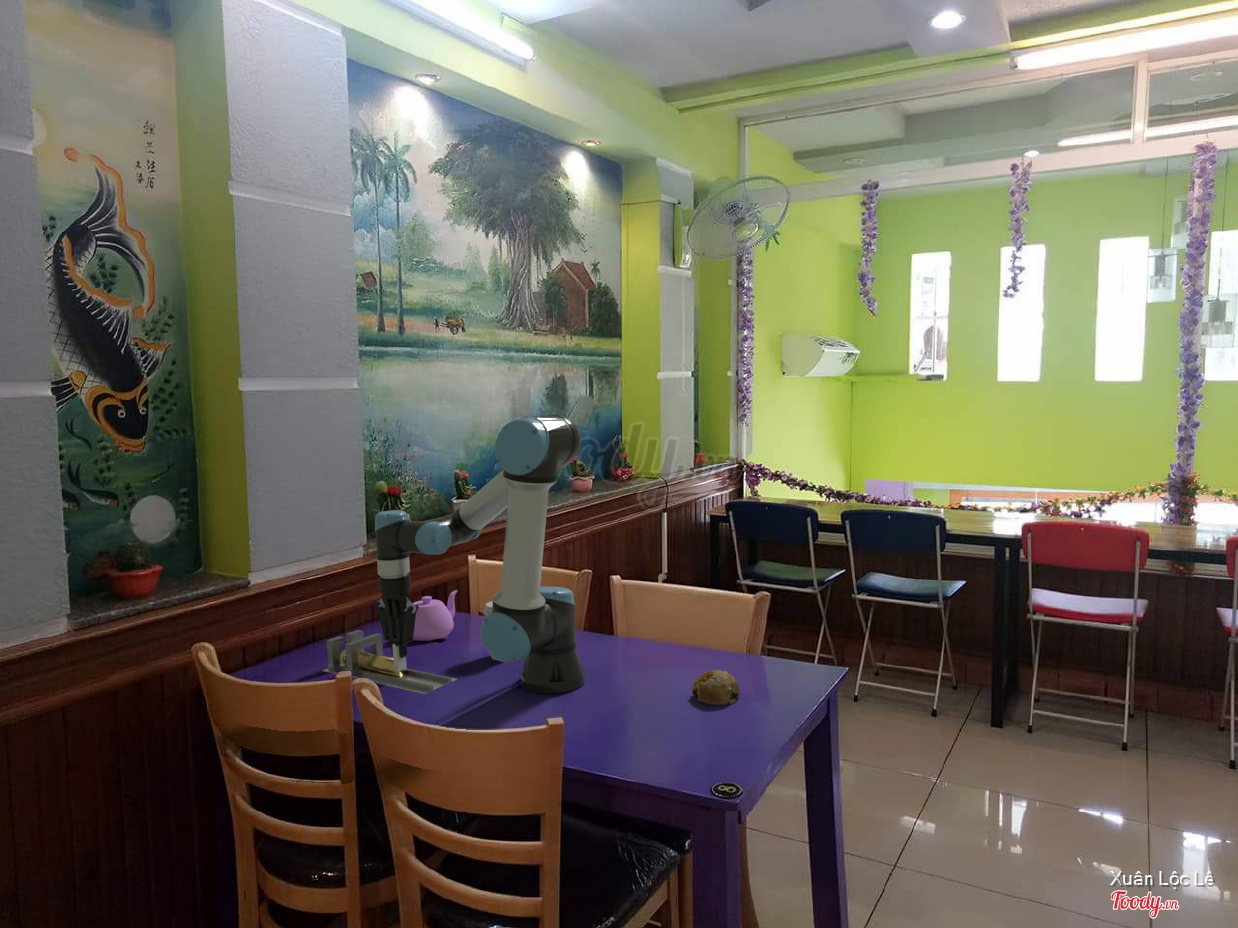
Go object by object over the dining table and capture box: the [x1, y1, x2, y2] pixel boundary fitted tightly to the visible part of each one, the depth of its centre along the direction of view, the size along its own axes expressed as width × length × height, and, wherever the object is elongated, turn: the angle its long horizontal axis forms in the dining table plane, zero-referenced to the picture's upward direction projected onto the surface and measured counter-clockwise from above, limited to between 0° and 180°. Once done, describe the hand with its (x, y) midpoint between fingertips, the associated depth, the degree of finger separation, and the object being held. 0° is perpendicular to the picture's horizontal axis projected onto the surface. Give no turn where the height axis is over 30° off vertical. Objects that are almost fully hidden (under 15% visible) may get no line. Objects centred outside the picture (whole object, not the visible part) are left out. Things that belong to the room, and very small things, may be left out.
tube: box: [339, 649, 407, 677], centre depth 216 cm, size 20×4×4 cm, turn 57°
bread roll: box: [690, 669, 741, 706], centre depth 191 cm, size 10×10×8 cm
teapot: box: [412, 589, 458, 642], centre depth 245 cm, size 20×14×12 cm
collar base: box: [321, 629, 458, 695], centre depth 212 cm, size 36×11×9 cm, turn 57°
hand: (400, 669), depth 210 cm, fingers closed
